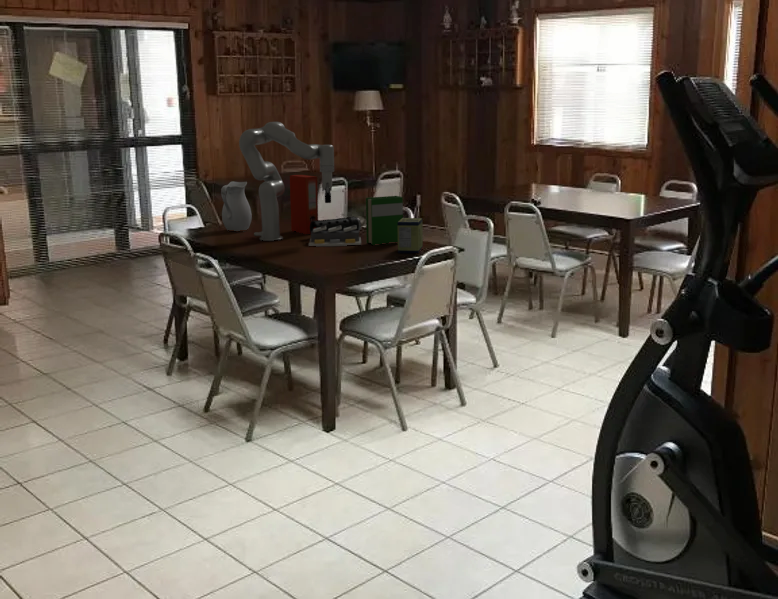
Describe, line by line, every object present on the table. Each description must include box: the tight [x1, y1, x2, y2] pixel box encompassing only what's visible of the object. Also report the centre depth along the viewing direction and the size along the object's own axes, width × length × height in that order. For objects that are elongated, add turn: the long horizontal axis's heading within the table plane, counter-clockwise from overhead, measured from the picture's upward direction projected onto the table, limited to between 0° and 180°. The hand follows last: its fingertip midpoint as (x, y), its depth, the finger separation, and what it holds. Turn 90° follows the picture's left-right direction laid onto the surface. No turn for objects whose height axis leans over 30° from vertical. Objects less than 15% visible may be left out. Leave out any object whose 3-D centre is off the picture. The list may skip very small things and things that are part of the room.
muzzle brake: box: [310, 216, 362, 233], centre depth 465 cm, size 10×28×10 cm, turn 124°
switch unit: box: [308, 230, 362, 247], centre depth 445 cm, size 27×20×6 cm
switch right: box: [344, 225, 357, 232], centre depth 446 cm, size 7×6×1 cm
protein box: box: [397, 217, 424, 254], centre depth 419 cm, size 10×16×16 cm
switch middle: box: [328, 225, 342, 232], centre depth 445 cm, size 7×6×1 cm
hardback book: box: [365, 195, 404, 246], centre depth 440 cm, size 18×7×24 cm, turn 116°
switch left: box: [313, 226, 326, 233], centre depth 445 cm, size 7×6×1 cm
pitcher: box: [220, 181, 253, 231], centre depth 485 cm, size 24×17×28 cm
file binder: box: [289, 174, 319, 235], centre depth 479 cm, size 8×17×32 cm, turn 36°
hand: (328, 201), depth 444 cm, fingers open, 9 cm apart
